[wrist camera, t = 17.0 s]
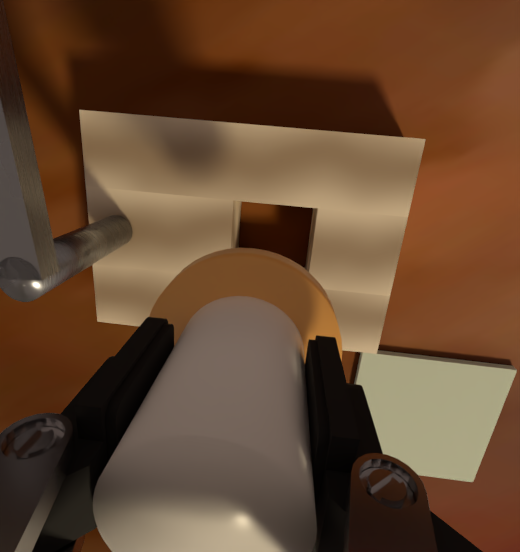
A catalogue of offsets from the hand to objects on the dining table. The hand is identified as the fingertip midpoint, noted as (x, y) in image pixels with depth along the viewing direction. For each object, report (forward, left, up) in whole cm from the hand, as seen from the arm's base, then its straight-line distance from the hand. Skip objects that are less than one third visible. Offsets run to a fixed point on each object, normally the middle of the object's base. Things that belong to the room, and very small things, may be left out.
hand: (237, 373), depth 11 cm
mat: (-15, -14, -17) cm, 27 cm away
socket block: (0, +2, -17) cm, 17 cm away
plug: (0, 0, -6) cm, 6 cm away
